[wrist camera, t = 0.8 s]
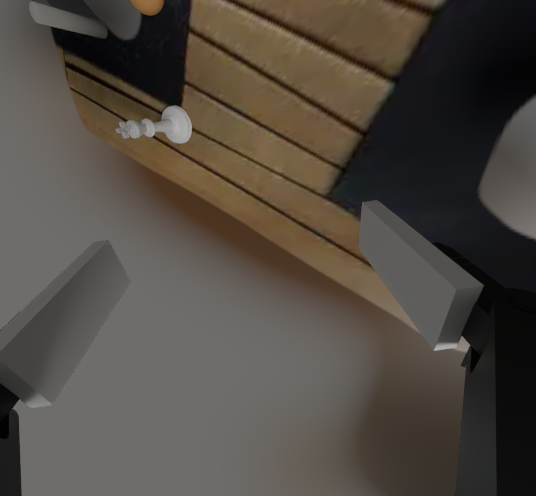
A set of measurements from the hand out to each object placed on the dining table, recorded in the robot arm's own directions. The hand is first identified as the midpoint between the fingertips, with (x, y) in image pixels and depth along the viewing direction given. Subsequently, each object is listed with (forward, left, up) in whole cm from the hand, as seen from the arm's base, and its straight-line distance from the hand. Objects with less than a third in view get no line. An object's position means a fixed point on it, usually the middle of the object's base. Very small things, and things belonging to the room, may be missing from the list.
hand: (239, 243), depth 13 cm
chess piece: (+7, -21, -22) cm, 31 cm away
